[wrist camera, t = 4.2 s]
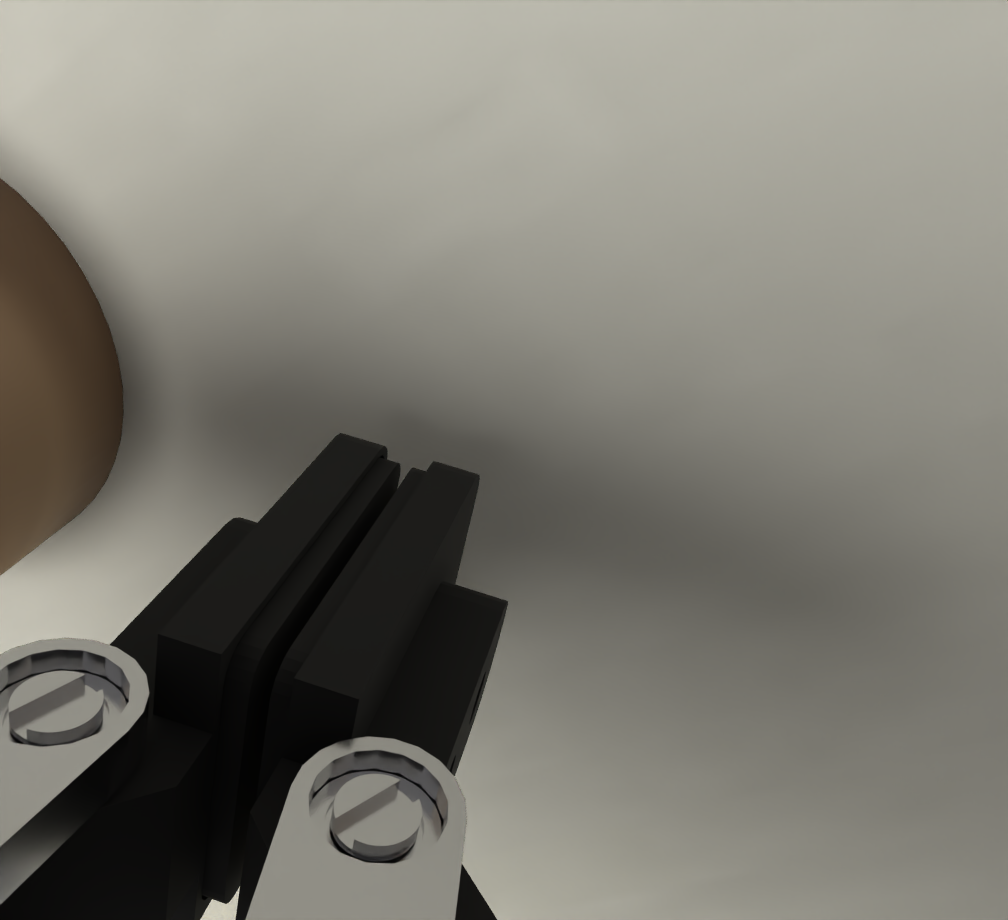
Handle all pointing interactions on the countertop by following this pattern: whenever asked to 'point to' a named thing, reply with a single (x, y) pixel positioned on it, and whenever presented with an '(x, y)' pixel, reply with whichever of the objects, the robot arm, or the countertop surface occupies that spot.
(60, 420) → the puck
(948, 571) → the countertop surface
